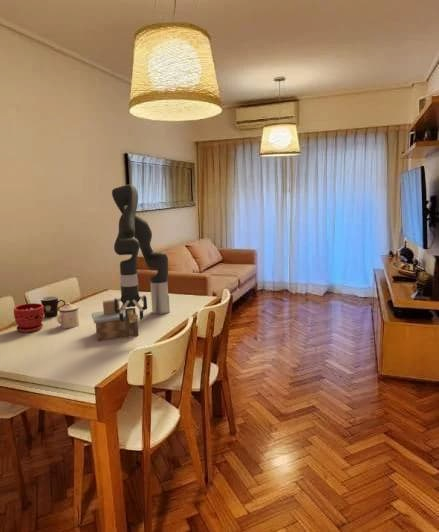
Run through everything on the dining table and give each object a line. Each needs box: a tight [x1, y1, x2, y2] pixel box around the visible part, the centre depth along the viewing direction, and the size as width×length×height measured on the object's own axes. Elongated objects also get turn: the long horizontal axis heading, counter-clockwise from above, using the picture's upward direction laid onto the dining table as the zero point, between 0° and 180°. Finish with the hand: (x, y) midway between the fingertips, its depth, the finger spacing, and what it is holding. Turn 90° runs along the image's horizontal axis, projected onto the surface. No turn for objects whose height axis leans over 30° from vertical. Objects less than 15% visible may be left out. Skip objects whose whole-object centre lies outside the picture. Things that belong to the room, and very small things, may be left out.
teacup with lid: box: [56, 302, 80, 329], centre depth 194 cm, size 12×9×12 cm
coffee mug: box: [40, 295, 66, 319], centre depth 212 cm, size 12×9×10 cm
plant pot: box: [13, 302, 44, 333], centre depth 190 cm, size 13×13×12 cm
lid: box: [91, 299, 139, 325], centre depth 181 cm, size 19×13×7 cm
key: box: [128, 310, 138, 323], centre depth 173 cm, size 3×13×3 cm, turn 19°
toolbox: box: [95, 307, 139, 342], centre depth 180 cm, size 18×13×13 cm
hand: (131, 320), depth 172 cm, fingers open, 7 cm apart
